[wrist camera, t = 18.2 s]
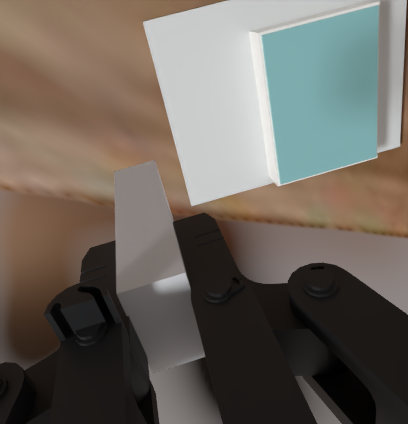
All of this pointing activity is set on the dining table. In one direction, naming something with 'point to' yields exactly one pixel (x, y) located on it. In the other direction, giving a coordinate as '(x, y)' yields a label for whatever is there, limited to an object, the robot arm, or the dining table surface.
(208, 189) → the mat
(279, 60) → the tile
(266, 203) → the dining table surface
